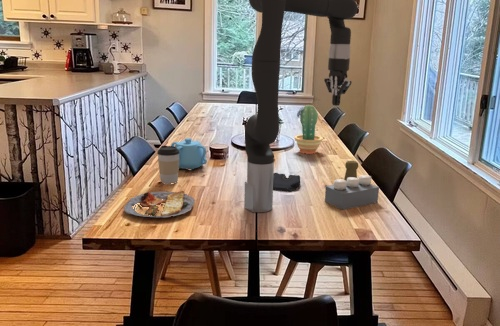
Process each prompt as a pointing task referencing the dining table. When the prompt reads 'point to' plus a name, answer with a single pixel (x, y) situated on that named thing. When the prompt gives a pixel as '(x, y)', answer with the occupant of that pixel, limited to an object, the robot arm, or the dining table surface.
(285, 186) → the dark slate chunk
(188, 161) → the decorative pot
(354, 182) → the knob middle
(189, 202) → the food plate
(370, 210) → the dining table surface
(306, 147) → the potted cactus
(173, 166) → the coffee cup
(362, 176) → the knob far
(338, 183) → the knob near
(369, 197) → the mount block
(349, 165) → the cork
